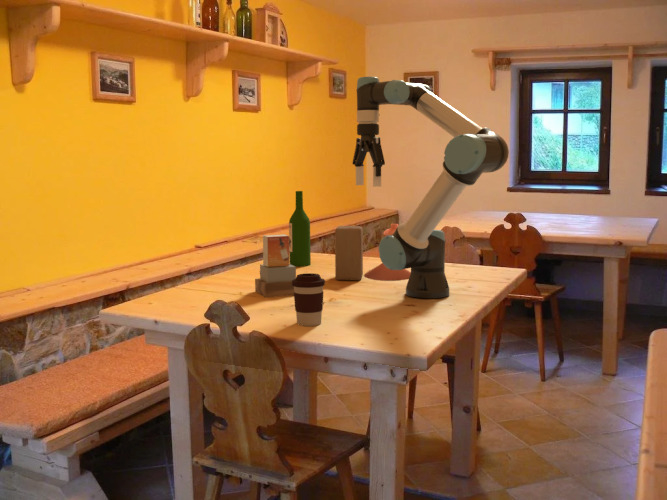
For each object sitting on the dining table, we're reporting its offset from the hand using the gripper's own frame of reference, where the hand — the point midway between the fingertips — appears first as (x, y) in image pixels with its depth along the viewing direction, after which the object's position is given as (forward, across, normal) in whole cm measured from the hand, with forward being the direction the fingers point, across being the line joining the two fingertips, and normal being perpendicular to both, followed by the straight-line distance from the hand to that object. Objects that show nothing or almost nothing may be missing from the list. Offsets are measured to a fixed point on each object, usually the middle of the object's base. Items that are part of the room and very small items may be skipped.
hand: (368, 185), depth 254 cm
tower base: (+37, +10, +30) cm, 49 cm away
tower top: (+32, +10, +30) cm, 45 cm away
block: (+37, +27, -5) cm, 46 cm away
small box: (+27, +10, +30) cm, 42 cm away
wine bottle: (+37, +62, +2) cm, 72 cm away
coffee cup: (+40, -27, +33) cm, 58 cm away
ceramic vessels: (+37, +32, -26) cm, 55 cm away
